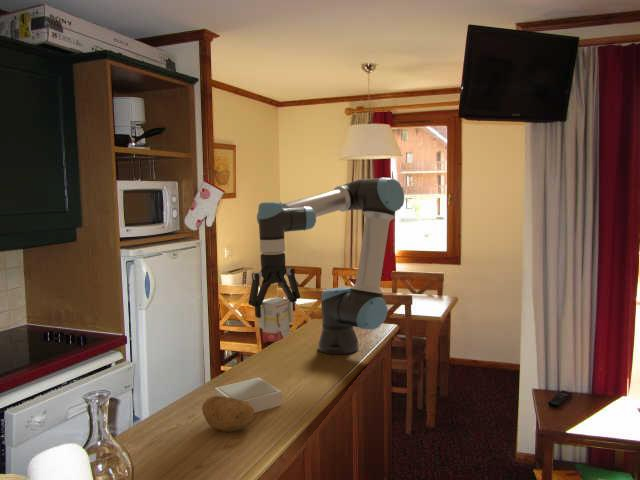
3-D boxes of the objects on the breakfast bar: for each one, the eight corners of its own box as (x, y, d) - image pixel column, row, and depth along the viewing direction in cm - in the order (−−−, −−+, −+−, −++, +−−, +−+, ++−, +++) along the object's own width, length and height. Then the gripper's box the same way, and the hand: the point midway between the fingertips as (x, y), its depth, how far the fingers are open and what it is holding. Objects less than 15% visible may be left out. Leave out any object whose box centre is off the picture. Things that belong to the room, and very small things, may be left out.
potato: (242, 442, 127) (241, 410, 126) (195, 433, 132) (193, 402, 132) (263, 425, 136) (262, 395, 135) (217, 417, 141) (216, 388, 141)
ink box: (275, 342, 158) (273, 304, 157) (262, 340, 161) (260, 302, 159) (290, 335, 166) (289, 298, 164) (277, 333, 168) (275, 297, 167)
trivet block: (259, 390, 160) (258, 376, 159) (281, 405, 148) (281, 390, 148) (215, 401, 152) (214, 387, 152) (235, 418, 140) (235, 402, 140)
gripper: (297, 248, 170) (300, 316, 172) (234, 255, 157) (238, 328, 160) (309, 250, 163) (312, 321, 166) (244, 257, 151) (248, 334, 153)
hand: (276, 324), depth 163 cm, fingers closed on ink box, 9 cm apart
